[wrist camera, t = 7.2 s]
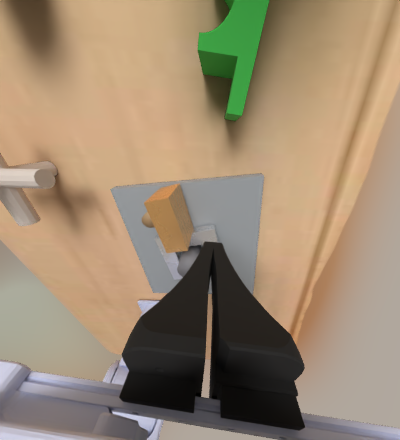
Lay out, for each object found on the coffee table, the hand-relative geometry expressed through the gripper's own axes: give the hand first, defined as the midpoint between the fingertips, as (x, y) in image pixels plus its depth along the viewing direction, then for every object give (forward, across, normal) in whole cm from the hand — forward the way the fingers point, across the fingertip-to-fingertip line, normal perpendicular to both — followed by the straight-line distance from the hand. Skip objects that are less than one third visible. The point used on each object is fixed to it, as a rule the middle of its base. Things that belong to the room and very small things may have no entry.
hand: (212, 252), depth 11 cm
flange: (+8, +3, +4) cm, 9 cm away
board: (+9, +2, +7) cm, 12 cm away
